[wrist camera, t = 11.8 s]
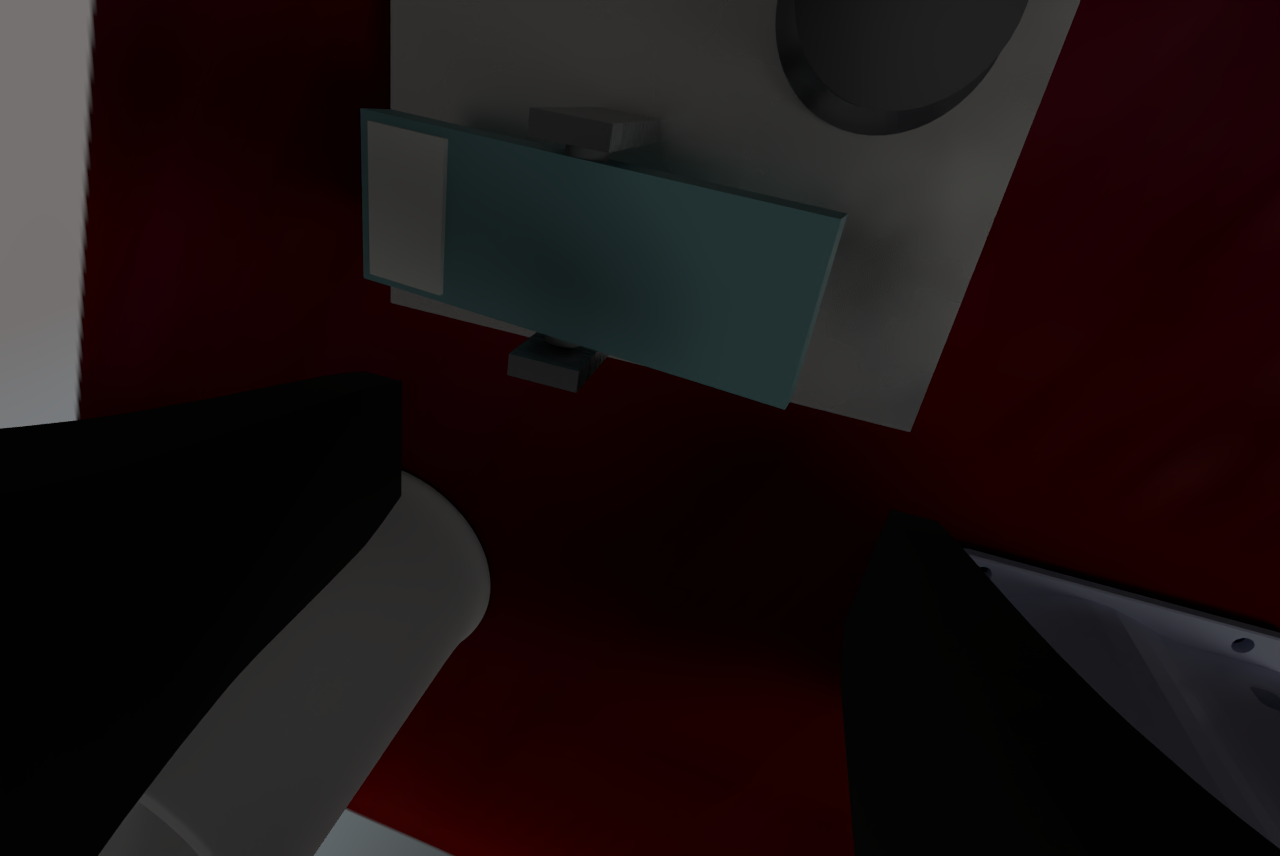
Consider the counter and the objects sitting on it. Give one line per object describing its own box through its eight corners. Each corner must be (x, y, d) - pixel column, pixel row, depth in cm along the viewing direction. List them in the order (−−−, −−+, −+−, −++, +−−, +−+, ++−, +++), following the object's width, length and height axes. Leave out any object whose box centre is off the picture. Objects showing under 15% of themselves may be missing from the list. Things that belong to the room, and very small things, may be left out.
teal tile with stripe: (851, 202, 13) (843, 208, 12) (791, 401, 15) (781, 421, 14) (391, 100, 16) (355, 98, 15) (391, 278, 18) (360, 287, 17)
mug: (216, 568, 29) (-138, 837, 18) (212, 392, 25) (-243, 606, 14) (472, 675, 28) (257, 1025, 17) (511, 510, 24) (262, 834, 13)
